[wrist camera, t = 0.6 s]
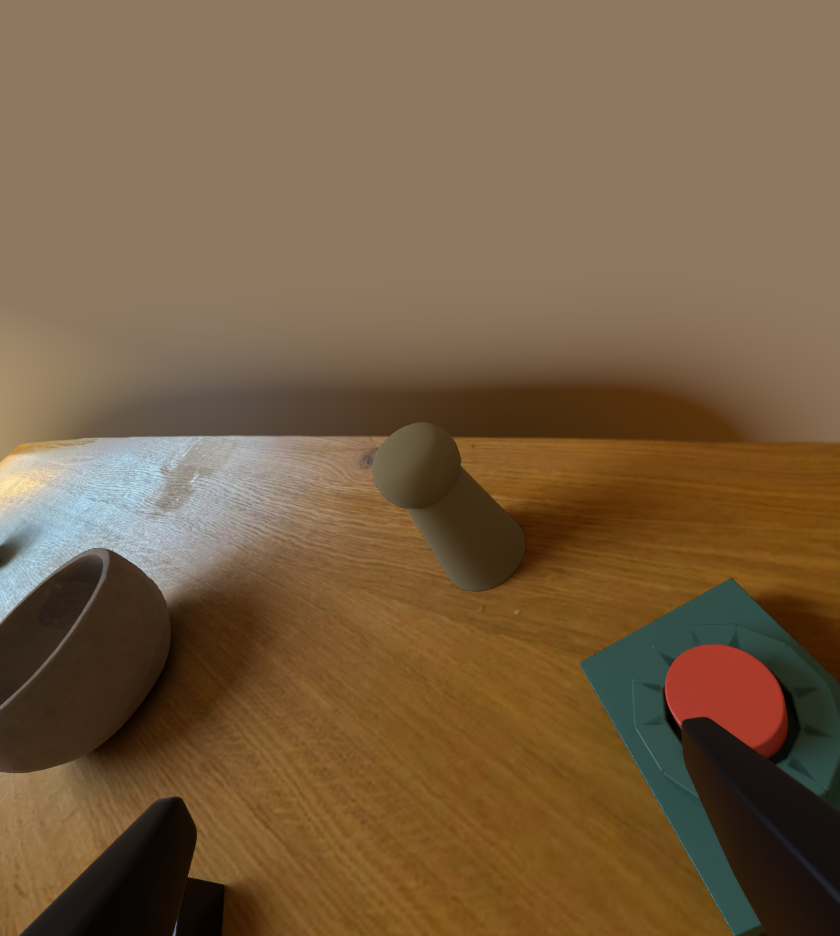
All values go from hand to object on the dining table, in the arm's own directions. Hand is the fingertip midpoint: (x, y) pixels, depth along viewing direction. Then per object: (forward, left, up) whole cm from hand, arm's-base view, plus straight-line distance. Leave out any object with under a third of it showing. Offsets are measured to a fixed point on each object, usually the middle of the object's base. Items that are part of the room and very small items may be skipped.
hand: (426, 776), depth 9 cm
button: (+3, -6, -13) cm, 15 cm away
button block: (+3, -6, -17) cm, 18 cm away
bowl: (+28, +35, -17) cm, 48 cm away
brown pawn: (+19, 0, -17) cm, 26 cm away
